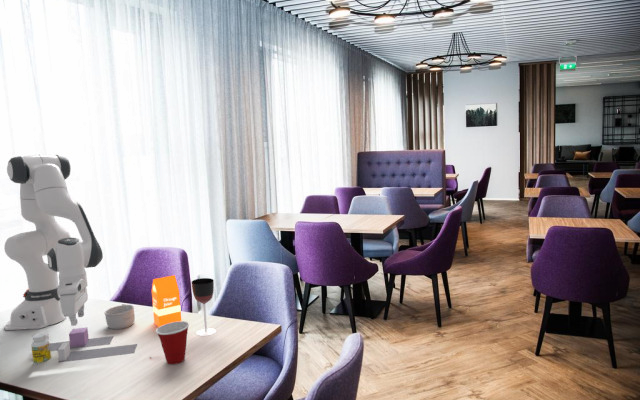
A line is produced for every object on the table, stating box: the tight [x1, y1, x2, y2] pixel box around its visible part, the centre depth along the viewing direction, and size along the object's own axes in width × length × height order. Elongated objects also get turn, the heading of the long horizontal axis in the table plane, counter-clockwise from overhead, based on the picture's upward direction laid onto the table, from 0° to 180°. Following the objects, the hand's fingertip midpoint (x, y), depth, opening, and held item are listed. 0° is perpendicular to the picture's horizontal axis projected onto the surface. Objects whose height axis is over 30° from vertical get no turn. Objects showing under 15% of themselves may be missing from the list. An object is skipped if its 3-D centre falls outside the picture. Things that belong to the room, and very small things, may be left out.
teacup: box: [104, 303, 136, 330], centre depth 198 cm, size 14×11×8 cm
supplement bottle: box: [30, 332, 52, 366], centre depth 167 cm, size 5×5×10 cm
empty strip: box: [57, 341, 138, 363], centre depth 170 cm, size 24×8×5 cm, turn 103°
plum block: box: [68, 327, 90, 347], centre depth 179 cm, size 5×5×5 cm
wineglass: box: [191, 277, 217, 337], centre depth 188 cm, size 8×9×20 cm
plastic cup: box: [155, 320, 190, 365], centre depth 164 cm, size 11×11×12 cm
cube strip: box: [45, 333, 114, 352], centre depth 179 cm, size 24×8×5 cm, turn 103°
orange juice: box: [151, 274, 182, 328], centre depth 196 cm, size 8×9×20 cm
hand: (77, 320), depth 178 cm, fingers open, 8 cm apart
